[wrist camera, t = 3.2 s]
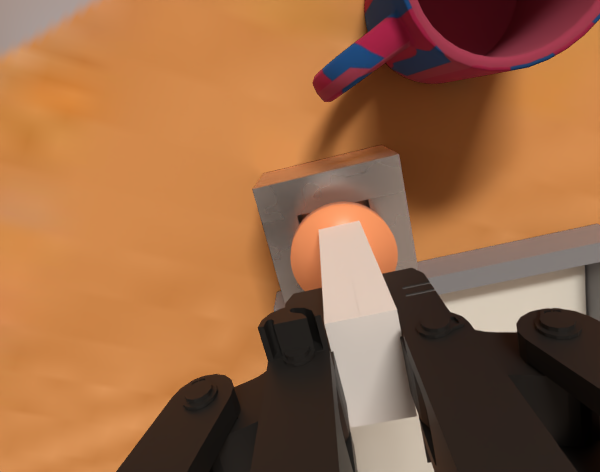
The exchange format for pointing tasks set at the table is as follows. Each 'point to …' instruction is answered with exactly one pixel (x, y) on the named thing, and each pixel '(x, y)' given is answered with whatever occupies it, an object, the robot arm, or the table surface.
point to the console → (333, 188)
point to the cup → (456, 39)
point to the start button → (334, 214)
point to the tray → (490, 315)
